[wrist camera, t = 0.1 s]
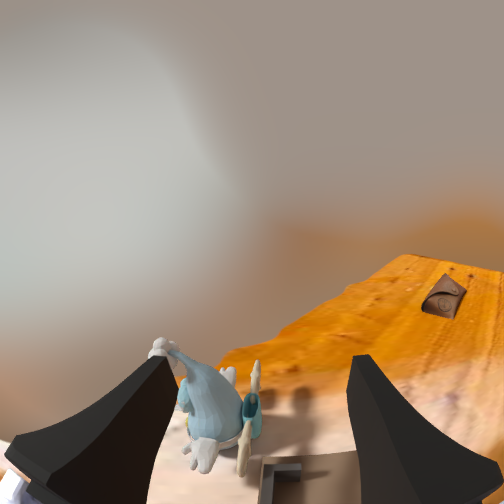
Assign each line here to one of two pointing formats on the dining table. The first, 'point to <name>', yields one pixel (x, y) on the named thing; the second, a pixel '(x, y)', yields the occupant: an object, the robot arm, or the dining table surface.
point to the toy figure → (214, 409)
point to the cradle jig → (311, 479)
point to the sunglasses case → (443, 298)
